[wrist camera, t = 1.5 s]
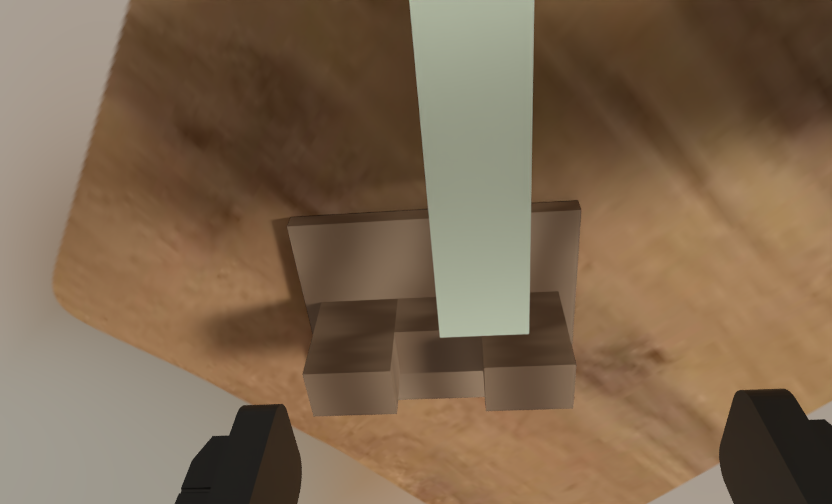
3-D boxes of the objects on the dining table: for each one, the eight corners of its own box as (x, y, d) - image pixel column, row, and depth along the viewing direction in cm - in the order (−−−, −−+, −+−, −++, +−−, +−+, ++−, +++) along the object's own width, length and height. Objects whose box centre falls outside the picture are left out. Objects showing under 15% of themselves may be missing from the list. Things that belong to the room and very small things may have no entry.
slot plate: (578, 200, 34) (605, 276, 28) (566, 383, 42) (586, 472, 36) (290, 217, 35) (260, 293, 29) (331, 391, 43) (313, 478, 37)
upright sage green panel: (498, -85, 26) (534, -27, 16) (501, 170, 33) (529, 334, 22) (423, -78, 27) (407, -15, 16) (441, 173, 33) (440, 337, 23)
